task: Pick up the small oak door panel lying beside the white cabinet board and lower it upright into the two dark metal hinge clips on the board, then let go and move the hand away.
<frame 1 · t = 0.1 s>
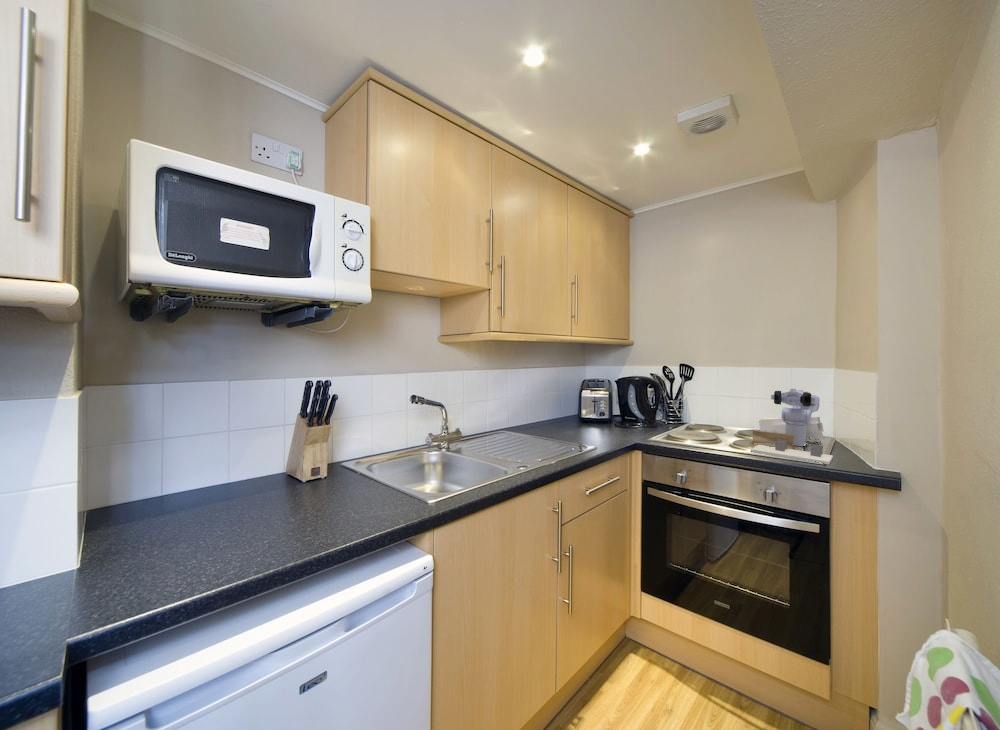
hand: (789, 398, 158), 21 cm above the countertop, tool horizontal, fingers open, 7 cm apart
door panel: (772, 447, 167), on the countertop
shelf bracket: (789, 440, 183), on the countertop, touching arm
cabinet board: (790, 454, 154), on the countertop
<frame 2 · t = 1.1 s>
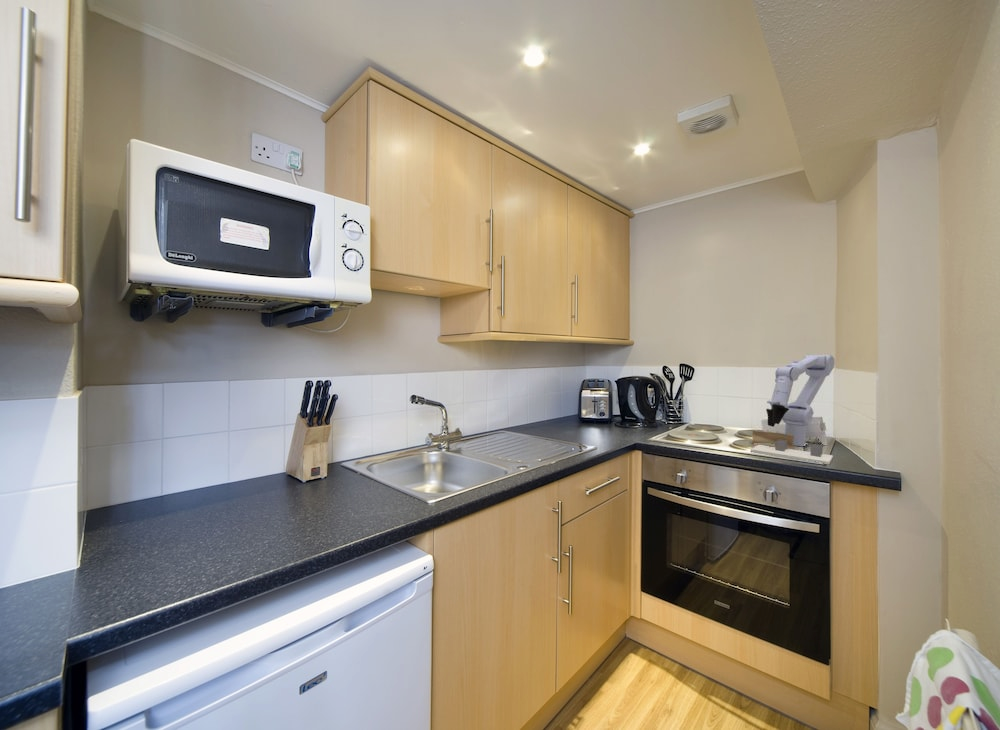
hand: (773, 424, 165), 10 cm above the countertop, tool tilted 20°, fingers open, 7 cm apart
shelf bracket: (792, 440, 182), on the countertop
everything else where it was.
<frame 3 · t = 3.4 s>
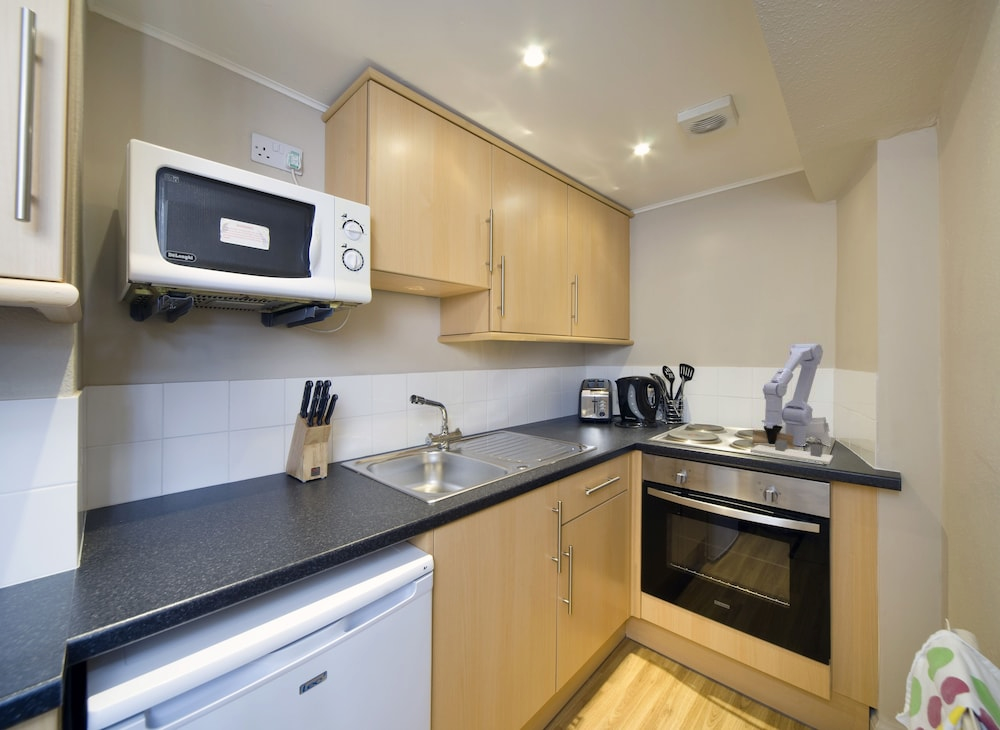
hand: (772, 443, 167), 1 cm above the countertop, tool pointing down, fingers closed on door panel, 2 cm apart
door panel: (772, 446, 167), on the countertop, touching gripper
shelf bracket: (795, 440, 181), on the countertop
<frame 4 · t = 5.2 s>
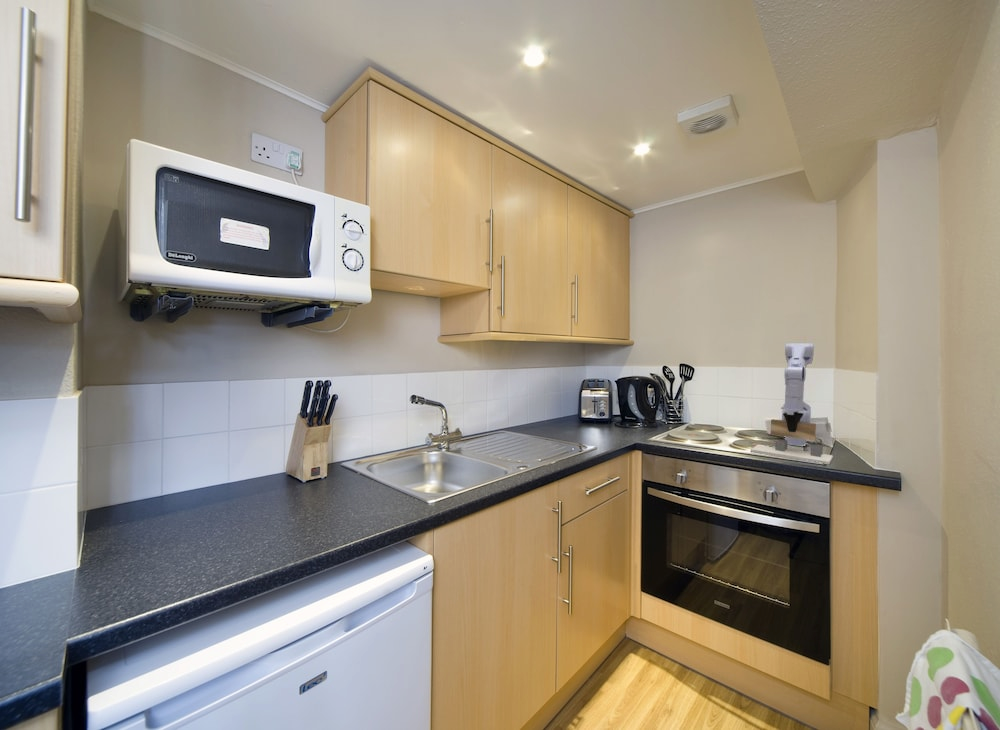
hand: (792, 431, 157), 8 cm above the countertop, tool pointing down, fingers closed on door panel, 2 cm apart
door panel: (792, 436, 157), point 6 cm above the countertop, touching gripper
everything else where it was.
when the fingers open (3 cm above the countertop, at t = 7.1 s): door panel stays where it is, resting on cabinet board.
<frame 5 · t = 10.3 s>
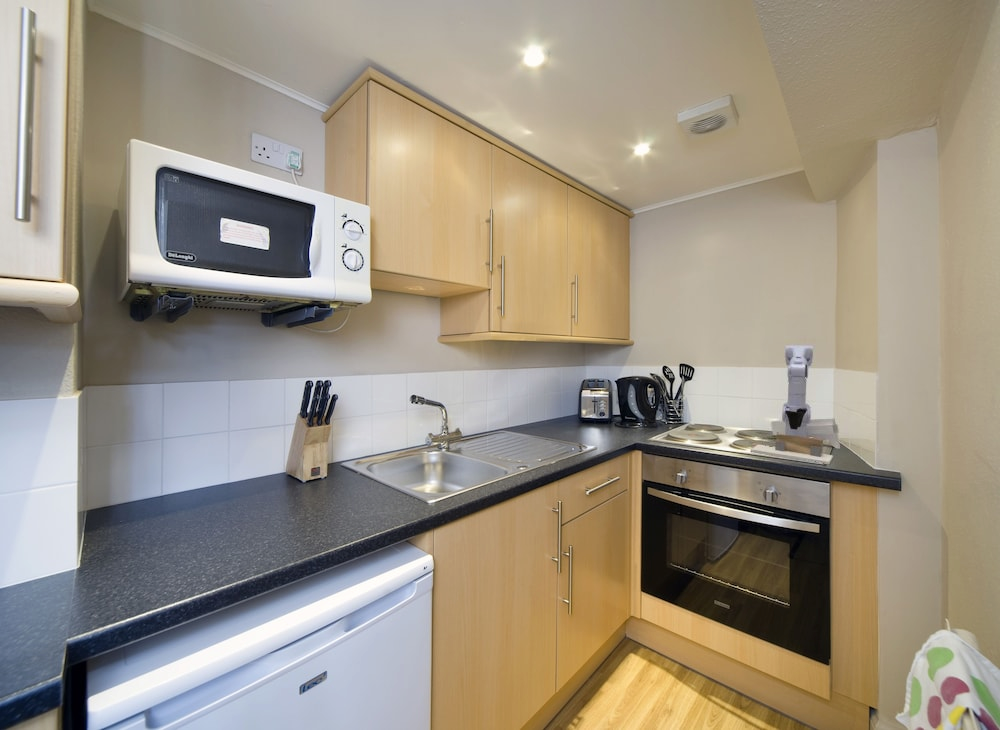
hand: (795, 427, 159), 9 cm above the countertop, tool pointing down, fingers open, 7 cm apart
door panel: (798, 452, 154), point 1 cm above the countertop, touching cabinet board
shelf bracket: (803, 442, 178), on the countertop
at the end: door panel 0.0 cm from the target spot on the cabinet board, point 1.0 cm above the cabinet board's base; door panel tilted 0°; the gripper is holding nothing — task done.
